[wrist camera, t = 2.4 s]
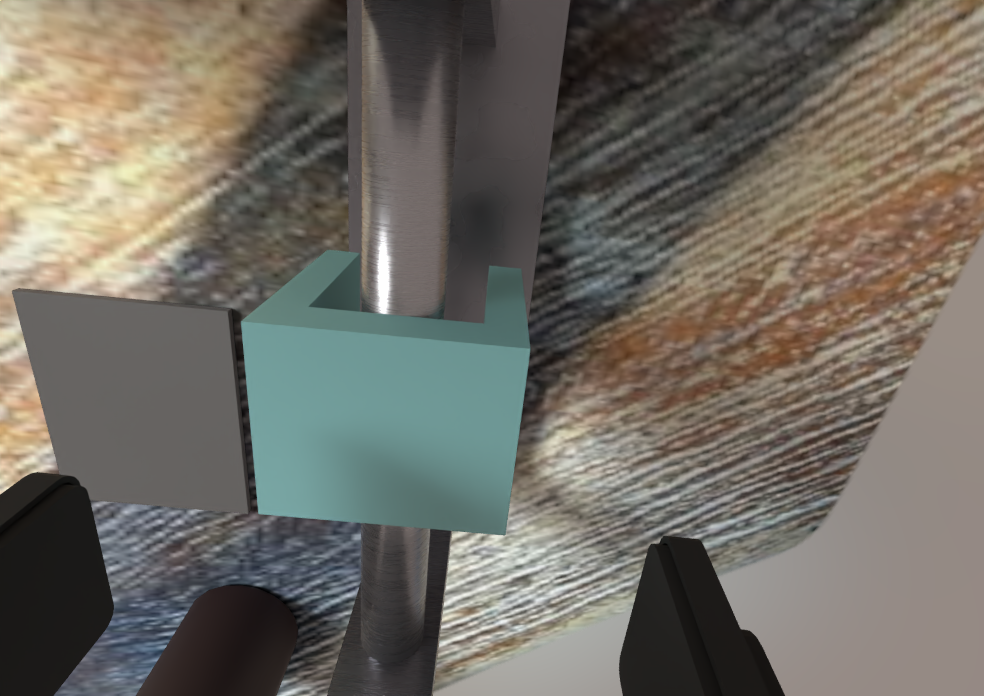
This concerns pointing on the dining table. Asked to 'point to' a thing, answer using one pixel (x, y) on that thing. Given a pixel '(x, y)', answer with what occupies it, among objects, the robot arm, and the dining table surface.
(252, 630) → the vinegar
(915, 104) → the dining table surface
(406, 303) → the stand
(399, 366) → the teal u-channel
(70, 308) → the mat
